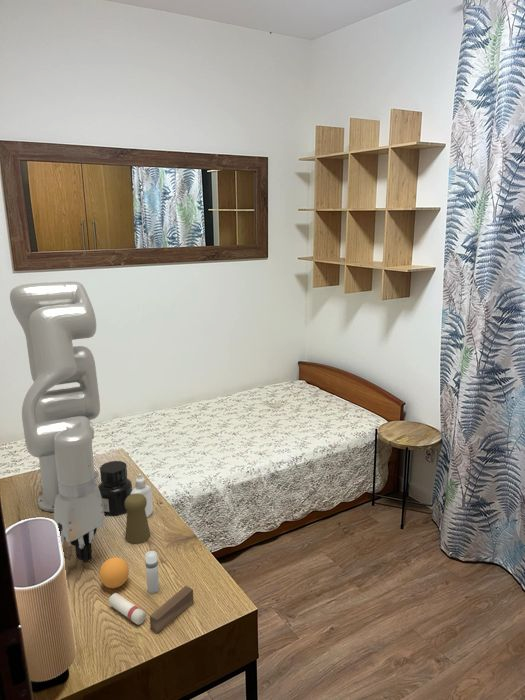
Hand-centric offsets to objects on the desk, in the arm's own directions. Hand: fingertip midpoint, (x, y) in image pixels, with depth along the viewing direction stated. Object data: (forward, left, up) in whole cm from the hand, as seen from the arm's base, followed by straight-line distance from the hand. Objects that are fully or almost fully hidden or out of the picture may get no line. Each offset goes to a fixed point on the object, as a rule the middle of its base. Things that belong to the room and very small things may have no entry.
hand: (84, 558), depth 117 cm
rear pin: (+18, +3, -2) cm, 19 cm away
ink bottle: (-13, +20, -2) cm, 24 cm away
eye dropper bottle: (-4, +21, -2) cm, 21 cm away
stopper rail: (+27, 0, -2) cm, 27 cm away
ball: (+11, -1, +2) cm, 11 cm away
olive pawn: (+2, +14, -2) cm, 14 cm away
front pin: (+15, -5, 0) cm, 16 cm away
